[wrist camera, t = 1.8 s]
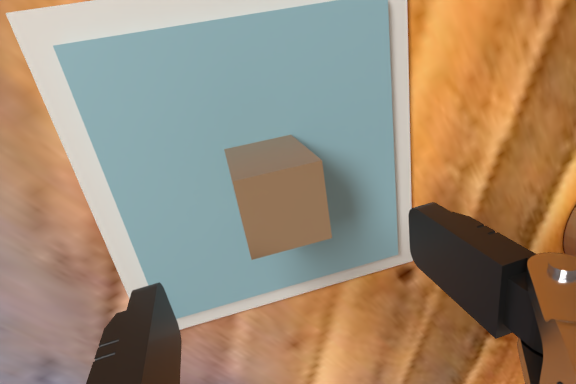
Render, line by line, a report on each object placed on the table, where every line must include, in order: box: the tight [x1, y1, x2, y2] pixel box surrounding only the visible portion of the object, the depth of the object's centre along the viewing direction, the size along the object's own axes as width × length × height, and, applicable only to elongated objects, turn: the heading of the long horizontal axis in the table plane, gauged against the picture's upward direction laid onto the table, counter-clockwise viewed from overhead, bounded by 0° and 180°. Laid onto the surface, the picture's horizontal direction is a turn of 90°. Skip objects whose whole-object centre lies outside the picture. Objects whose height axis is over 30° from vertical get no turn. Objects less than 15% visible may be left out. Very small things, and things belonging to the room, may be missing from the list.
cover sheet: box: [53, 0, 398, 319], centre depth 16 cm, size 15×15×6 cm
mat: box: [6, 0, 413, 330], centre depth 19 cm, size 18×18×1 cm
